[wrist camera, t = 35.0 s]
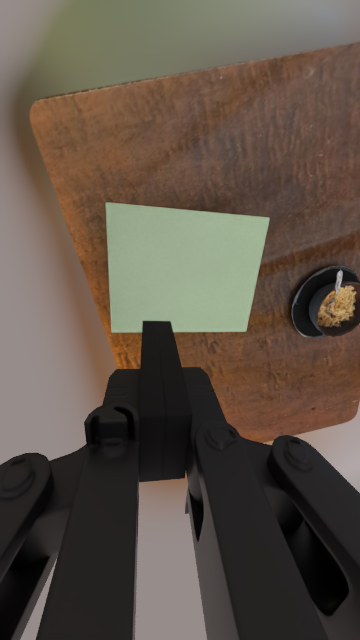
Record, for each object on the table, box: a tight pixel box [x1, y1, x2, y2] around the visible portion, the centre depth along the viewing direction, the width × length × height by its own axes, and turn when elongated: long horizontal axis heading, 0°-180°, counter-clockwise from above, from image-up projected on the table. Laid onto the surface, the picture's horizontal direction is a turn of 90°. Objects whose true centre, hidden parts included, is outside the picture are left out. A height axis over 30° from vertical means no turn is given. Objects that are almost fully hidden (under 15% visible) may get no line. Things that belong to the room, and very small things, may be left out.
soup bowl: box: [292, 265, 360, 338], centre depth 42 cm, size 15×16×7 cm
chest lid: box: [105, 202, 270, 332], centre depth 29 cm, size 19×16×1 cm
